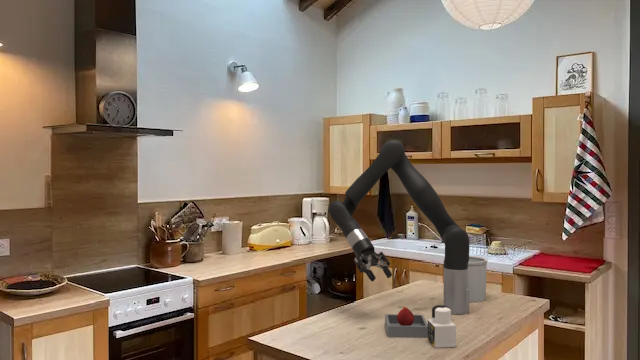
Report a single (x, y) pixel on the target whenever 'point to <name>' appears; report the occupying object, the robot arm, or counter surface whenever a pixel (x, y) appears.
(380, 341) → the counter surface
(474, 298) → the utensil holder
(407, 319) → the onion
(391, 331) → the slate grey tray
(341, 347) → the counter surface
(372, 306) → the counter surface
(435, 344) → the medicine bottle
